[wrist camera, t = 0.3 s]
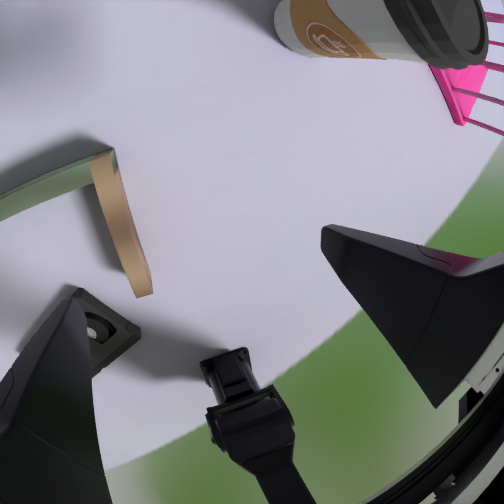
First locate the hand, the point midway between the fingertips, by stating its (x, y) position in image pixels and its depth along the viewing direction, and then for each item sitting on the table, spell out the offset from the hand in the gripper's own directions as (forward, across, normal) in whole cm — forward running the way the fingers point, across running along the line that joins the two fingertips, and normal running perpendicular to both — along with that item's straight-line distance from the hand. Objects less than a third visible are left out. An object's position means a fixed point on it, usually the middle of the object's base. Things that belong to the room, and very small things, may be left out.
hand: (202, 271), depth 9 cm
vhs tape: (+15, +15, +14) cm, 25 cm away
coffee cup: (+14, -13, -12) cm, 22 cm away
